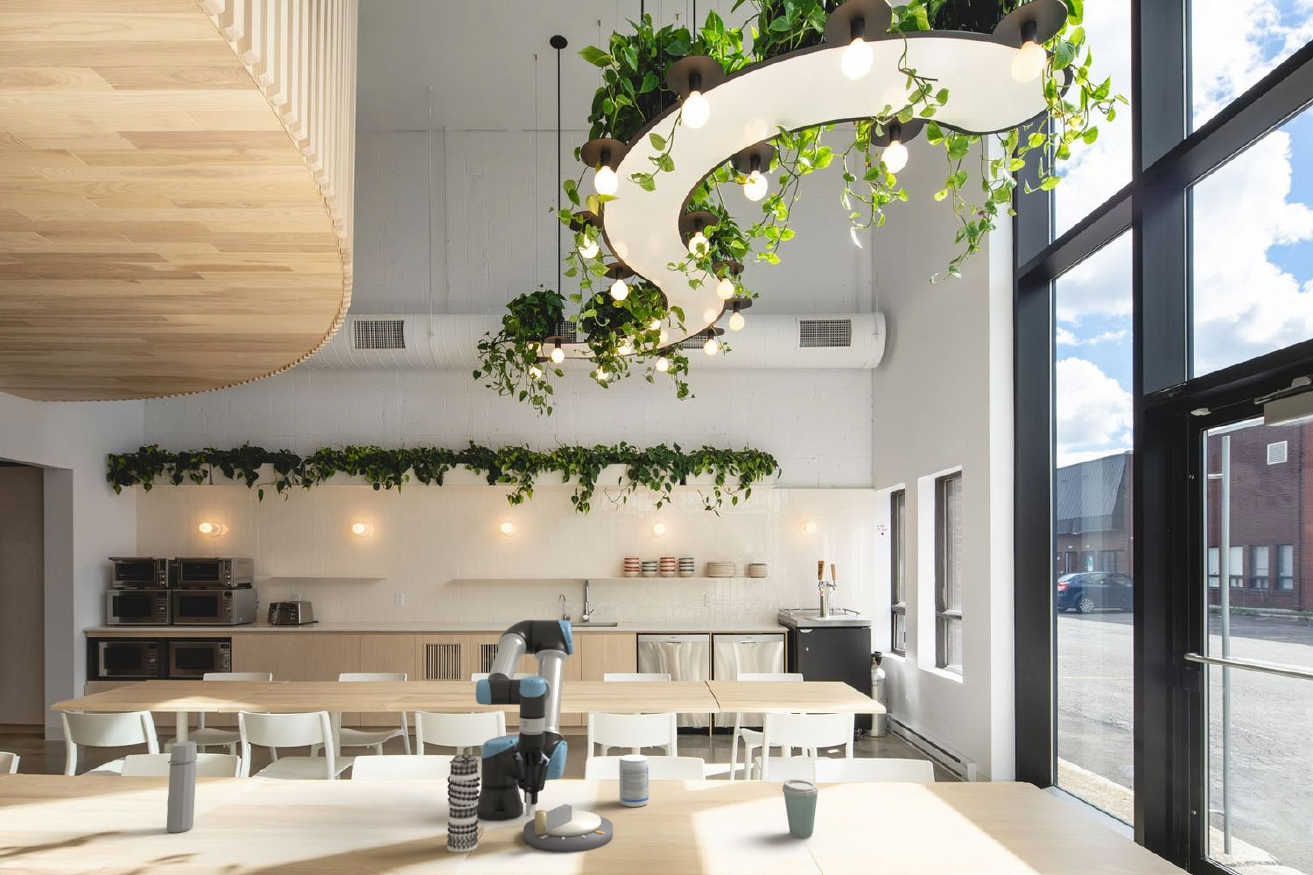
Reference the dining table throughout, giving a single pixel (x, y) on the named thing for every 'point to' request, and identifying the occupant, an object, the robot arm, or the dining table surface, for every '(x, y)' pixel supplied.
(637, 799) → the supplement tub
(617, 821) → the dining table surface
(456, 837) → the decorative candle
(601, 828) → the dial base
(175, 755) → the water bottle
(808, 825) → the disposable coffee cup
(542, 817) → the dial
